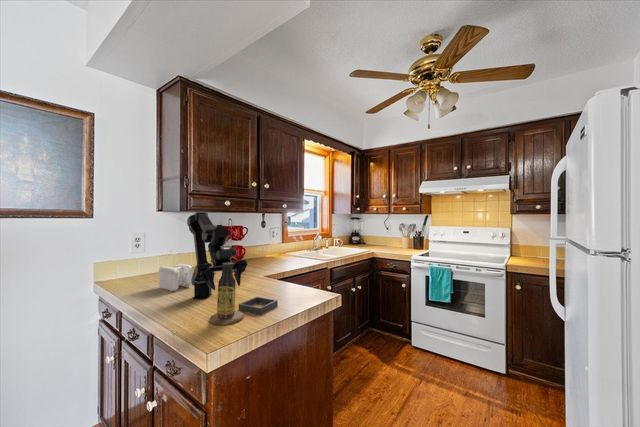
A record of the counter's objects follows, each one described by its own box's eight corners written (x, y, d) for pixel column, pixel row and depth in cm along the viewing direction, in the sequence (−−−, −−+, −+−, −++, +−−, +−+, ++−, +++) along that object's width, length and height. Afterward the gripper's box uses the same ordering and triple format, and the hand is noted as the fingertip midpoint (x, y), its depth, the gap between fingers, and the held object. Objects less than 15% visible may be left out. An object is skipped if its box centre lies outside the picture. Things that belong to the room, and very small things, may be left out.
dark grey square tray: (238, 310, 111) (238, 304, 111) (256, 302, 120) (256, 296, 120) (260, 315, 106) (260, 308, 106) (277, 306, 115) (277, 300, 115)
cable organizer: (193, 287, 143) (193, 265, 143) (173, 293, 134) (173, 269, 134) (177, 283, 151) (177, 262, 151) (157, 288, 142) (157, 266, 142)
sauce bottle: (214, 320, 99) (214, 264, 99) (220, 313, 105) (219, 261, 105) (233, 319, 99) (232, 264, 99) (237, 313, 105) (237, 261, 105)
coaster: (204, 325, 96) (204, 323, 96) (216, 312, 108) (216, 310, 108) (238, 325, 96) (238, 323, 96) (247, 312, 108) (247, 310, 108)
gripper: (196, 242, 100) (205, 278, 91) (245, 239, 111) (257, 271, 103) (191, 261, 106) (199, 296, 98) (238, 256, 118) (248, 287, 109)
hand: (227, 287), depth 102 cm, fingers open, 9 cm apart
